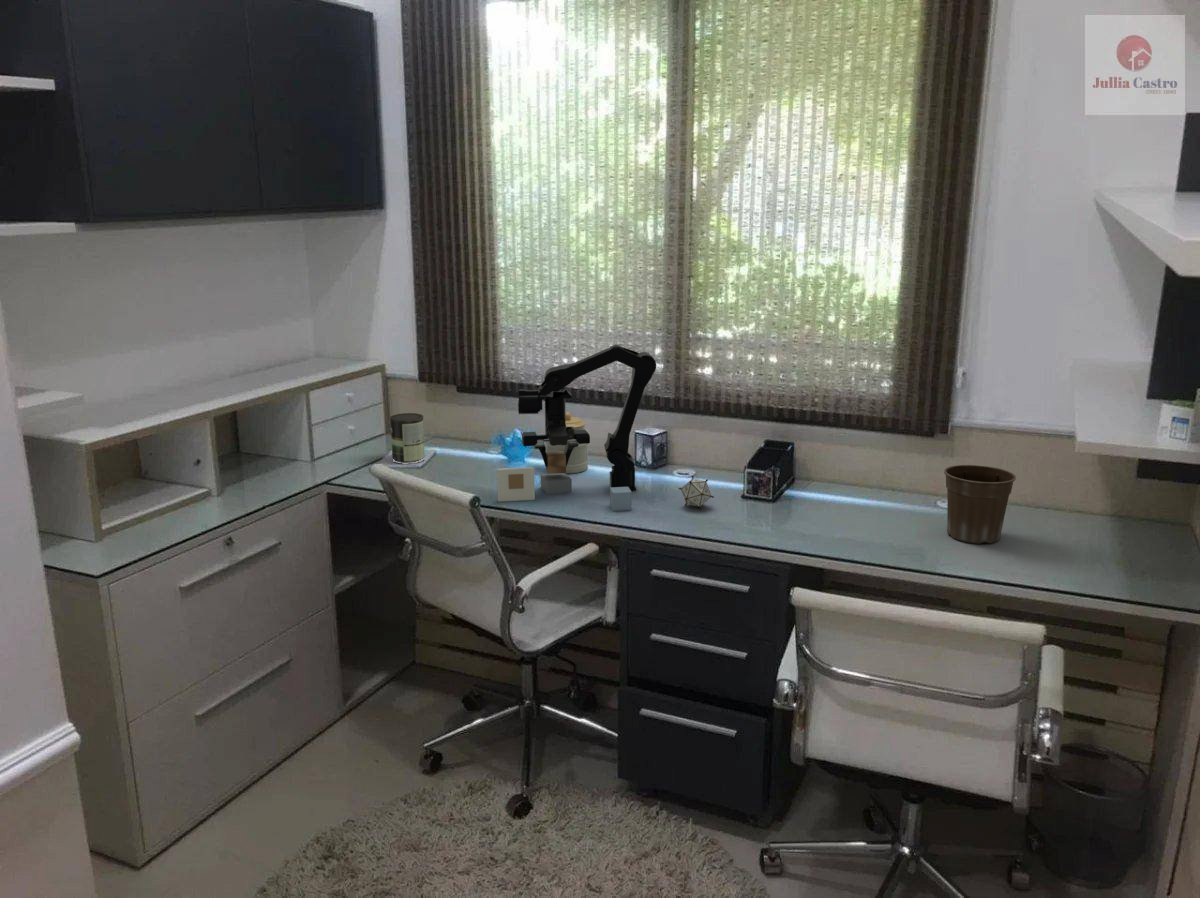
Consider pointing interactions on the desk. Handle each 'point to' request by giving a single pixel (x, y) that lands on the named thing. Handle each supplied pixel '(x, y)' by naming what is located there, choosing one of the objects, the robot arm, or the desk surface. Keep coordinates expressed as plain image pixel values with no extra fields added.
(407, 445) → the coffee can
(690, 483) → the game die
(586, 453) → the jar
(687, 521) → the desk surface
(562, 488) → the base block
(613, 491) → the slate blue cube
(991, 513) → the plant pot
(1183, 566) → the desk surface
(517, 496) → the plaque
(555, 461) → the walnut cube
